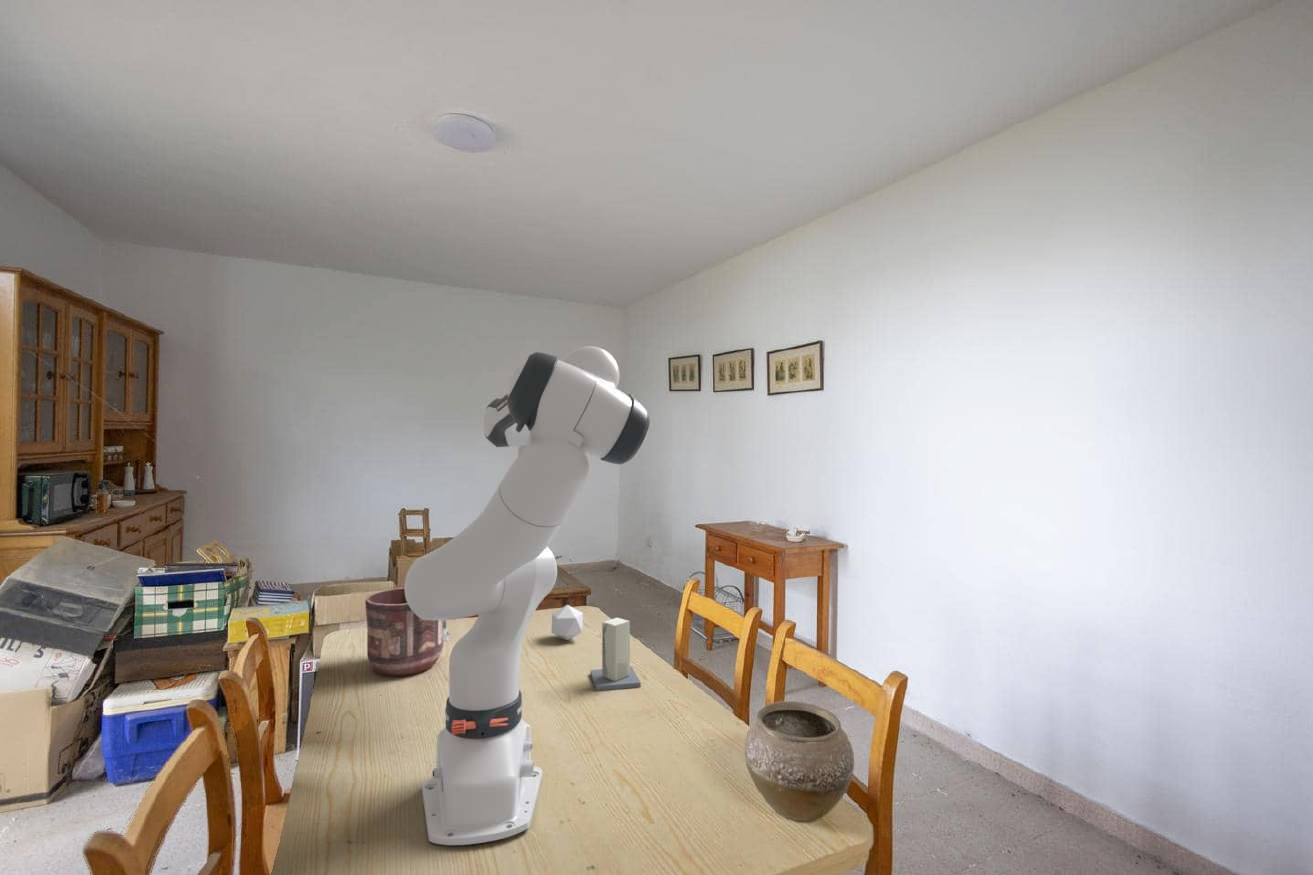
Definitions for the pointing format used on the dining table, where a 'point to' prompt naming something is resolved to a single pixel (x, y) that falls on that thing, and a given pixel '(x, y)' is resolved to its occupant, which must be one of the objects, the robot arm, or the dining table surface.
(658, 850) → the dining table surface
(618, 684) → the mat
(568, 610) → the die
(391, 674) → the pottery
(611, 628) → the box
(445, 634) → the house of cards
